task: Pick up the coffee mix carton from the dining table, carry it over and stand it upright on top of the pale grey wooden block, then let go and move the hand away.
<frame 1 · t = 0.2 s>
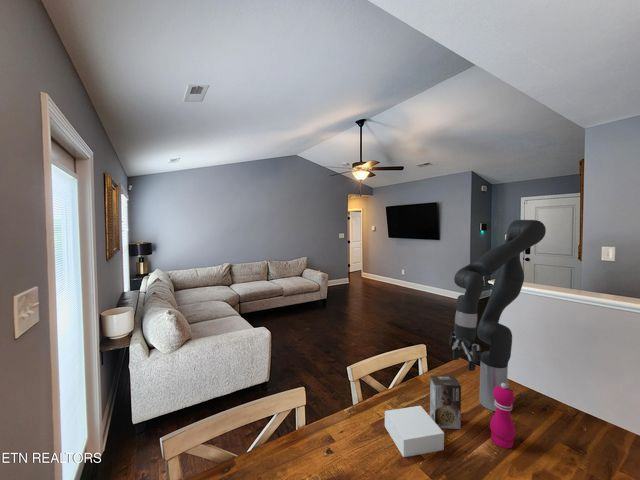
hand: (463, 364, 111), 18 cm above the table, tool pointing down, fingers open, 8 cm apart
pepper mill: (501, 441, 96), on the table
coffee box: (444, 423, 105), on the table
riser block: (412, 438, 98), on the table
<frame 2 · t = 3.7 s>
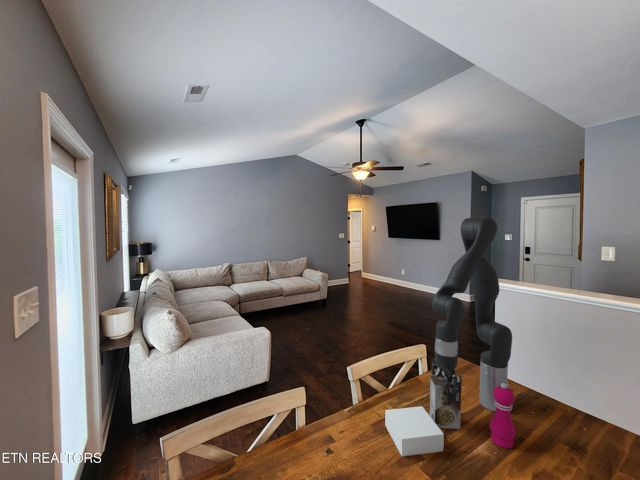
hand: (445, 394, 105), 10 cm above the table, tool pointing down, fingers closed on coffee box, 7 cm apart
coffee box: (444, 423, 105), on the table, touching gripper
everything else where it was.
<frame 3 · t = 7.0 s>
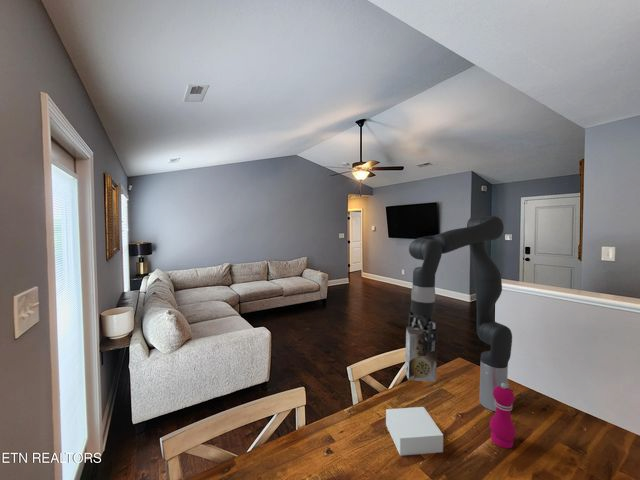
hand: (421, 346, 98), 31 cm above the table, tool pointing down, fingers closed on coffee box, 7 cm apart
coffee box: (419, 376, 99), point 20 cm above the table, touching gripper
everything else where it was.
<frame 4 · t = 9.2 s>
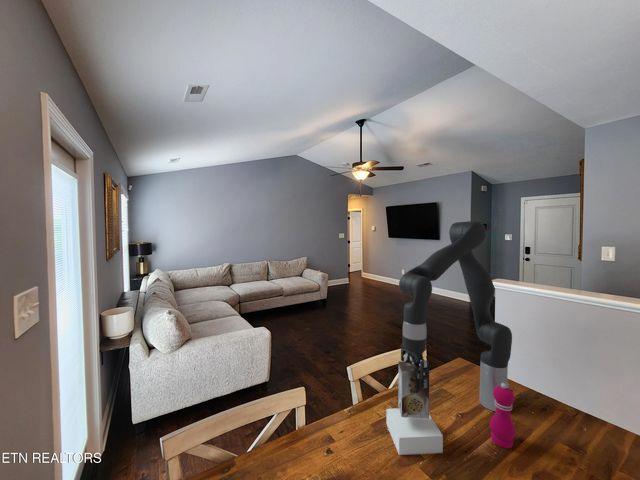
hand: (413, 382, 97), 19 cm above the table, tool pointing down, fingers closed on coffee box, 7 cm apart
coffee box: (413, 412, 98), point 9 cm above the table, touching gripper
everything else where it was.
when the fingers open (18 cm above the table, at t = 10.7 s): coffee box drops 2 cm, resting on riser block.
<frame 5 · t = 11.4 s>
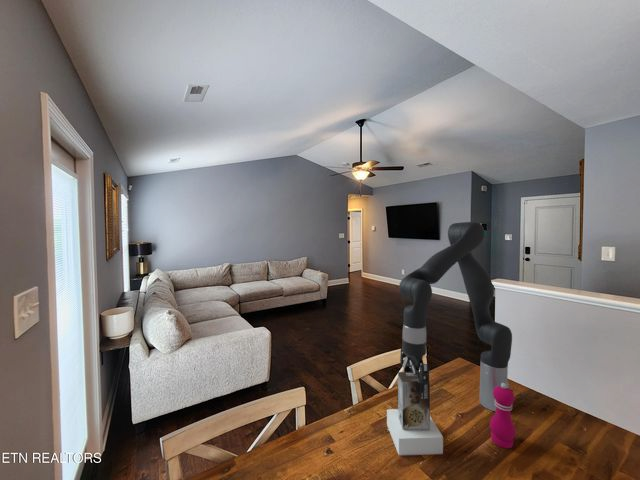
hand: (413, 385, 97), 18 cm above the table, tool pointing down, fingers open, 8 cm apart
coffee box: (413, 424, 97), point 5 cm above the table, touching riser block
riser block: (412, 439, 98), on the table, touching coffee box
everything else where it was.
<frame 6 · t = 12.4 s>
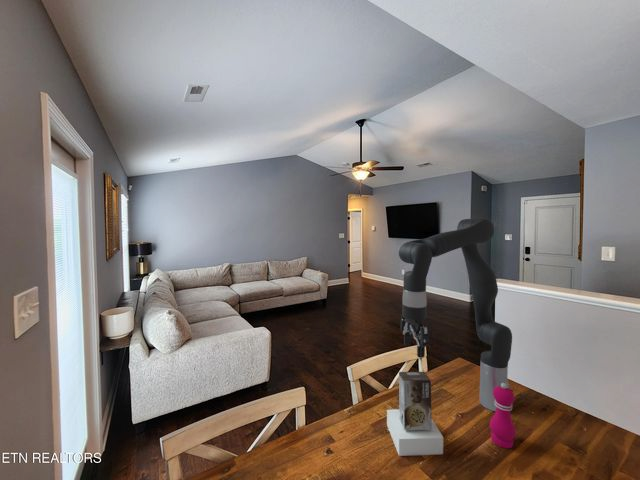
hand: (413, 351, 96), 30 cm above the table, tool pointing down, fingers open, 8 cm apart
coffee box: (414, 425, 96), point 6 cm above the table
riser block: (412, 439, 98), on the table
everything else where it was.
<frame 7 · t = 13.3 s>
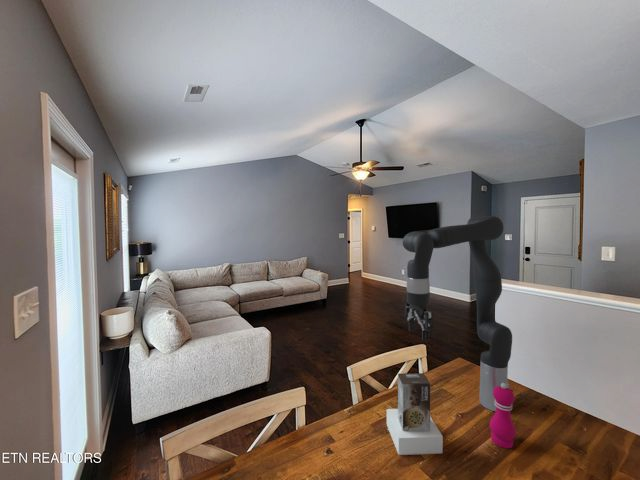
hand: (418, 335, 101), 33 cm above the table, tool pointing down, fingers open, 8 cm apart
coffee box: (413, 425, 97), point 5 cm above the table, touching riser block
riser block: (412, 438, 98), on the table, touching coffee box
everything else where it was.
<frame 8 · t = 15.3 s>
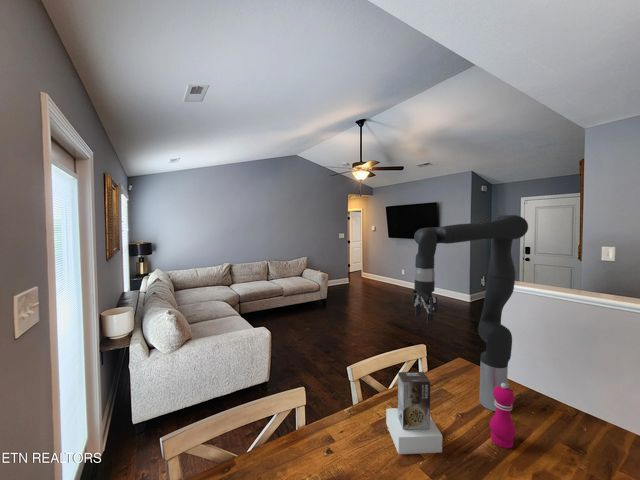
hand: (423, 319, 116), 34 cm above the table, tool pointing down, fingers open, 8 cm apart
at the end: coffee box inside the target area on the riser block (0.7 cm from its centre), point 6.0 cm above the riser block's base; coffee box tilted 2°; coffee box touching nothing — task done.
